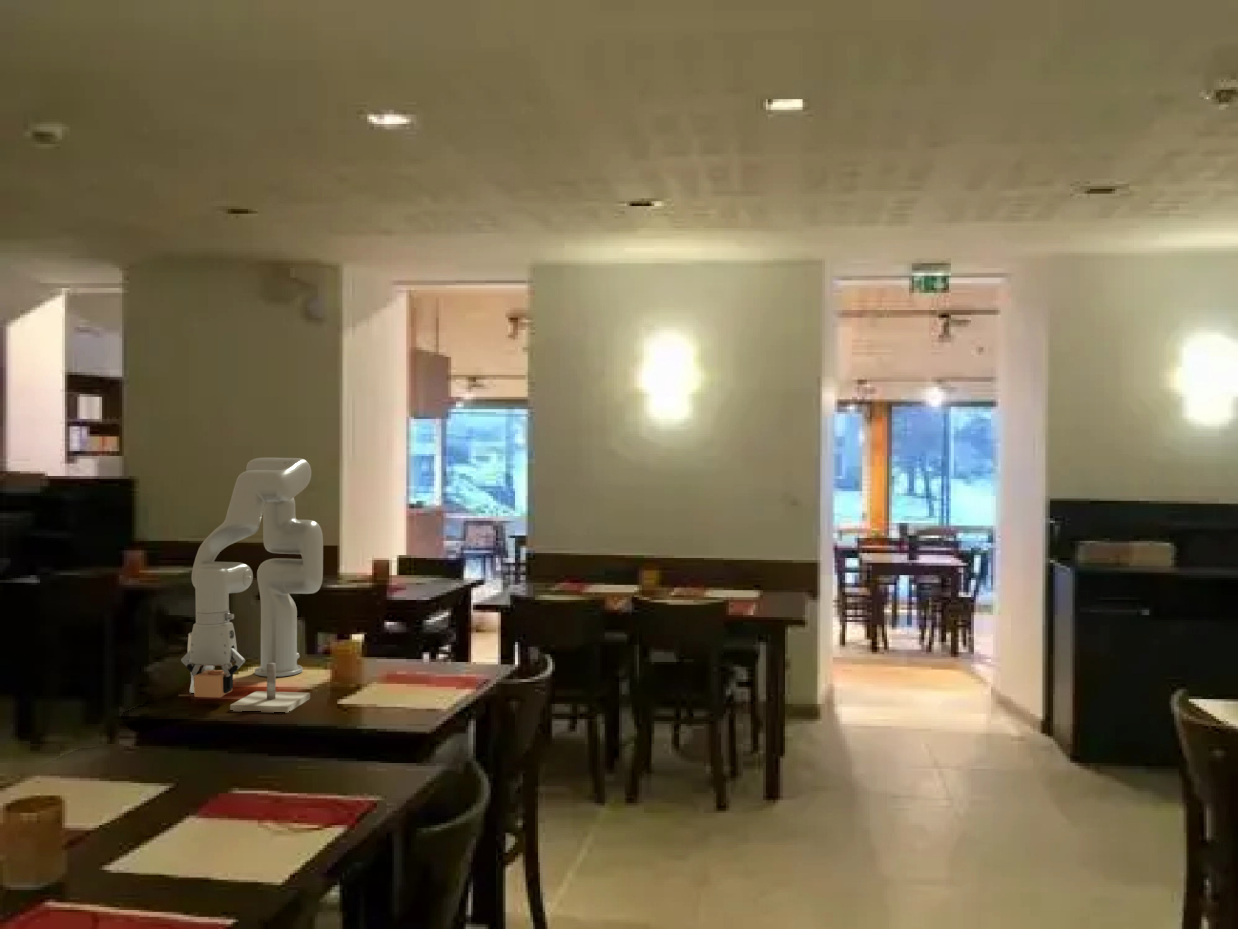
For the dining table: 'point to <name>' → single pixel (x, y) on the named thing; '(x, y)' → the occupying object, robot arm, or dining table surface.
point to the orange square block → (209, 684)
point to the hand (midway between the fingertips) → (213, 690)
